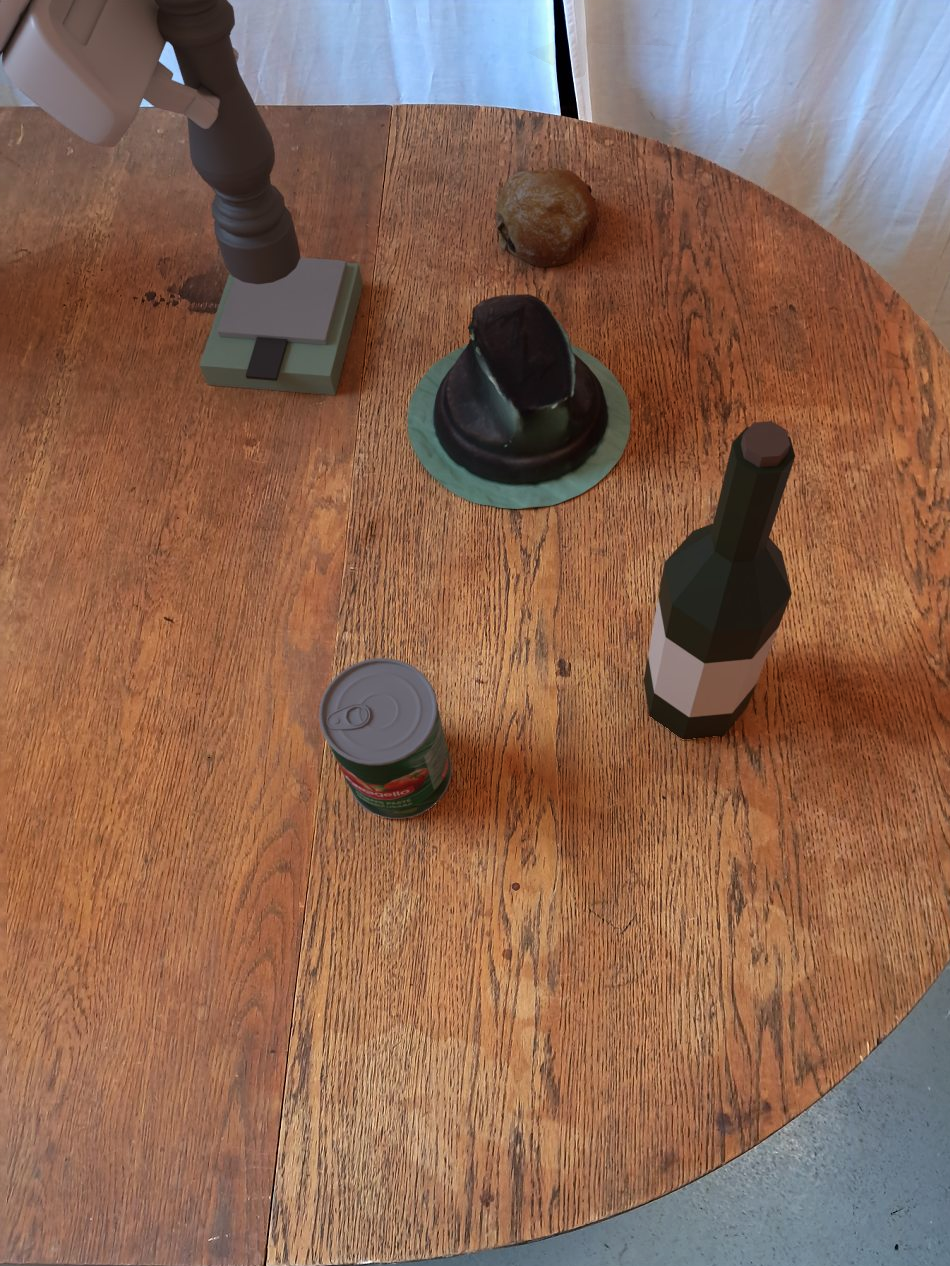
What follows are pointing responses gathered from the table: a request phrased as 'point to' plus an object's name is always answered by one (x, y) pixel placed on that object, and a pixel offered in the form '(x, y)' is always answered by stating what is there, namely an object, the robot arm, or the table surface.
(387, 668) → the canned tomato
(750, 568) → the wine bottle
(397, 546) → the table surface
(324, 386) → the scale
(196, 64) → the candle holder
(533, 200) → the bread roll
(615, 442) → the black hat
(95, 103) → the robot arm
